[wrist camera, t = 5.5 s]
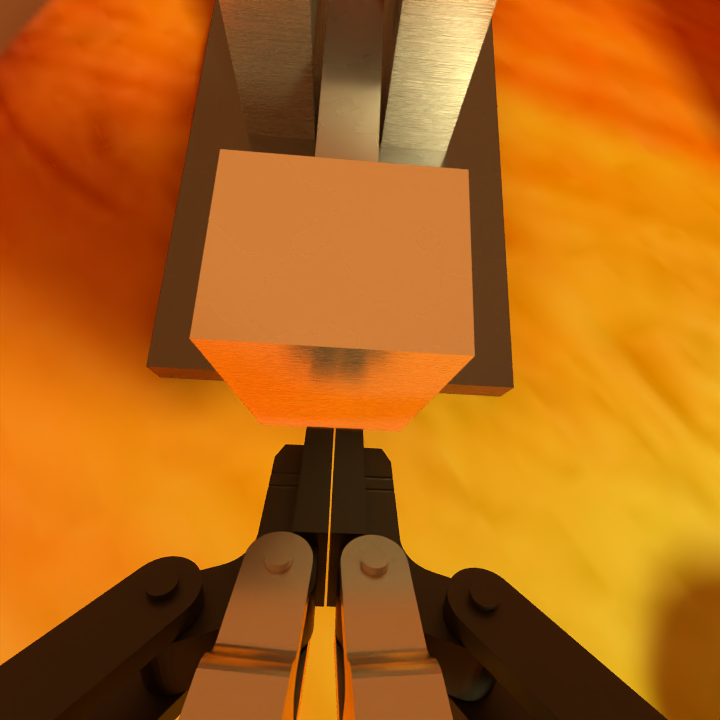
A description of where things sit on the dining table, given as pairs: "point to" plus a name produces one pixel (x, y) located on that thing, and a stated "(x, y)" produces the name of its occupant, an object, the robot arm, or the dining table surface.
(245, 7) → the shaft housing
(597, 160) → the dining table surface
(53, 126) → the dining table surface
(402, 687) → the robot arm
